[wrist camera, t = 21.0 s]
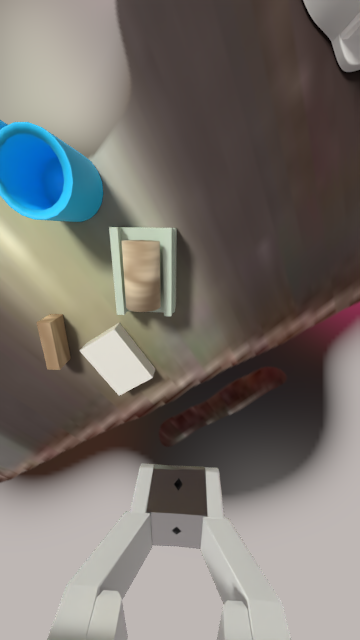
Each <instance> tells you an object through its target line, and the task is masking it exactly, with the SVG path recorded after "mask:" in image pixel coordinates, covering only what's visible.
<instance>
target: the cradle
mask: <svg viewBox="0 0 360 640" xmlns="http://www.w3.org/2000/svg"><path fill="white" fill-rule="evenodd" d="M109 233H110V244H111V255H112V266H113V277H114V288H115V298H116V309H117V315H125V313H126V312H127V311H130V310H128V309H127V308H126V298H125V284H124V269H123V255H122V241H123V240H153V241H160V298H161V307H160V308H159V309H157V310H154V311H149V312H164V316H172V313H175V308H176V248H177V228H136V227H109Z"/></svg>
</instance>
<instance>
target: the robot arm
mask: <svg viewBox="0 0 360 640" xmlns="http://www.w3.org/2000/svg"><path fill="white" fill-rule="evenodd" d="M303 1H304V4H305V6H306V8H307V11H308V12H309V14H310V16H311V17H312V19H313V21H314V22H315V23H316V24H317V26H318V27H319V28H320V29H321V30H322V31H323V32H324V33H325V34H326V35H327V36H328V38H329V39H330V41H331V42H332V46H333V49H334V52H335V56H336V59H337V61H338V64H339V66H340V67H341V69H342V70H343V71H345V72H353V71H357V70H360V0H303ZM152 545H160V546H161V545H162V546H179V547H189V548H199V549H201V553H202V555H203V557H204V560H205V562H206V564H207V567H208V569H209V571H210V573H211V576H212V578H213V581H214V583H215V585H216V587H217V590H218V592H219V594H220V596H221V599H222V601H223V604H224V607H223V611H222V615H221V621H220V626H219V632H218V637H217V640H291V638H290V633H289V629H288V625H287V621H286V617H285V613H284V608H283V604H282V602H281V601H280V599H279V597H278V596H277V594H276V593H275V591H274V589H273V588H272V586H271V585H270V583H269V582H268V580H267V579H266V577H265V575H264V574H263V572H262V571H261V569H260V567H259V566H258V564H257V563H256V561H255V559H254V558H253V556H252V555H251V553H250V552H249V550H248V548H247V547H246V546H245V544H244V542H243V540H242V539H241V537H240V536H239V534H238V533H237V531H236V529H235V528H234V527H233V525H232V523H231V522H230V520H229V519H228V518H224V510H223V501H222V492H221V483H220V474H219V470H218V468H207V467H205V468H204V467H196V466H195V467H194V466H169V465H156V464H141V466H140V469H139V473H138V478H137V482H136V487H135V491H134V496H133V500H132V504H131V509H130V512H127V511H126V512H125V513H124V514H123V516H122V517H121V518H120V519H119V521H118V522H117V523H116V524H115V526H114V527H113V528H112V529H111V531H110V532H109V533H108V534H107V536H106V537H105V538H104V539H103V541H102V542H101V543H100V544H99V545H98V547H97V548H96V549H95V550H94V552H93V553H92V554H91V555H90V557H89V558H88V559H87V560H86V562H85V563H84V564H83V565H82V566H81V568H80V569H79V570H78V572H77V573H76V574H75V575H74V577H73V578H72V579H71V580H70V581H69V583H68V584H67V586H66V589H65V591H64V594H63V597H62V600H61V602H60V605H59V608H58V611H57V614H56V616H55V619H54V622H53V625H52V628H51V630H50V633H49V636H48V639H47V640H127V637H128V636H127V630H126V623H125V617H124V610H123V604H122V599H123V597H124V596H125V594H126V592H127V590H128V589H129V587H130V585H131V584H132V582H133V580H134V578H135V577H136V575H137V573H138V571H139V569H140V568H141V566H142V564H143V562H144V561H145V558H146V557H147V555H148V554H149V552H150V550H151V548H152Z"/></svg>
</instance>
